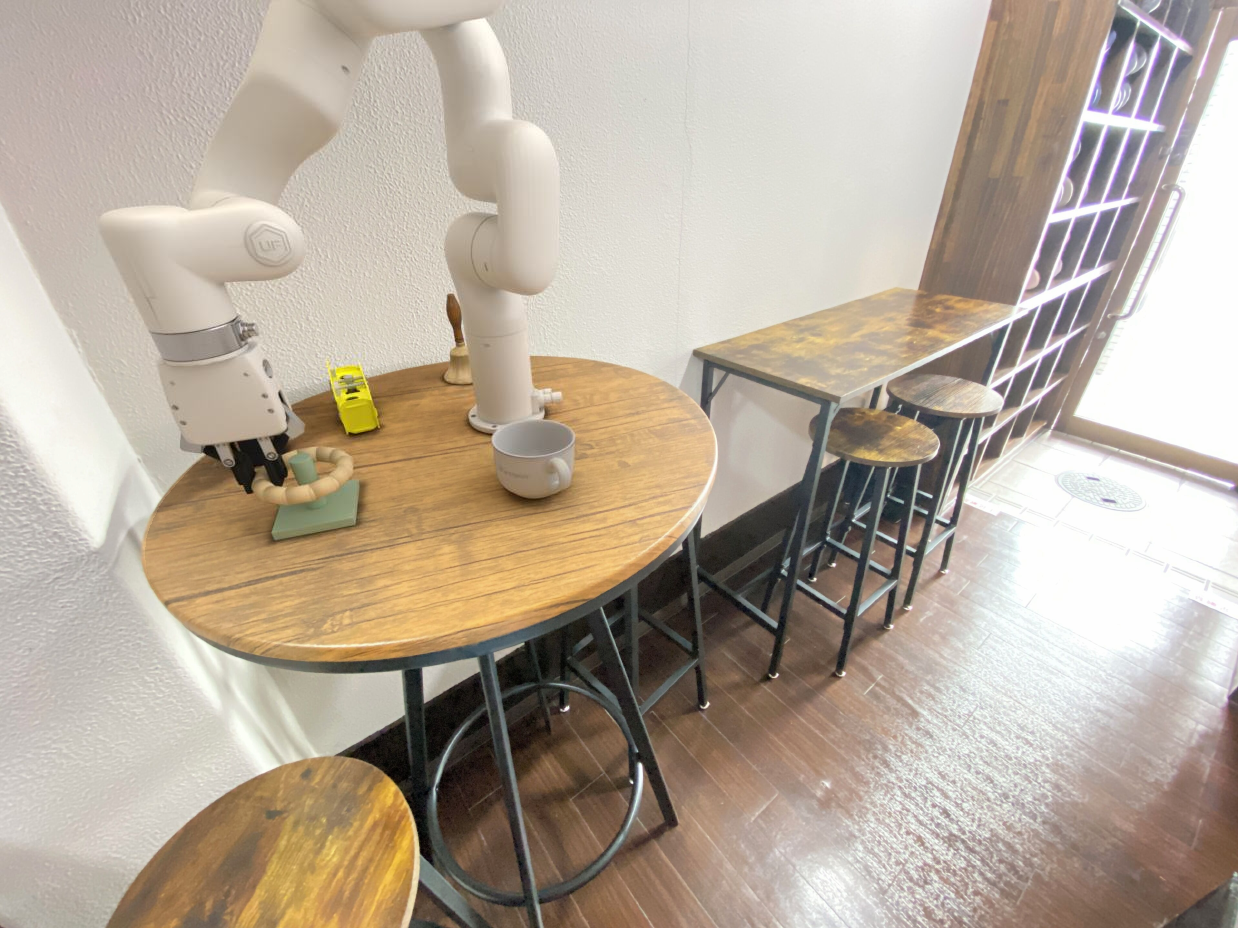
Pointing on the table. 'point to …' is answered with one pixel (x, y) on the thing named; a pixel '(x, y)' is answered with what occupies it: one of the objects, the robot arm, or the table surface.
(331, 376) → the yellow toy chassis
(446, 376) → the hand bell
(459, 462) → the table surface
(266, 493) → the ring
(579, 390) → the table surface
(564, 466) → the teacup
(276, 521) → the post
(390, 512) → the table surface
